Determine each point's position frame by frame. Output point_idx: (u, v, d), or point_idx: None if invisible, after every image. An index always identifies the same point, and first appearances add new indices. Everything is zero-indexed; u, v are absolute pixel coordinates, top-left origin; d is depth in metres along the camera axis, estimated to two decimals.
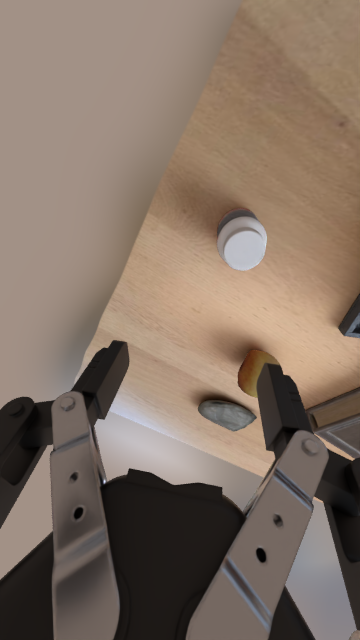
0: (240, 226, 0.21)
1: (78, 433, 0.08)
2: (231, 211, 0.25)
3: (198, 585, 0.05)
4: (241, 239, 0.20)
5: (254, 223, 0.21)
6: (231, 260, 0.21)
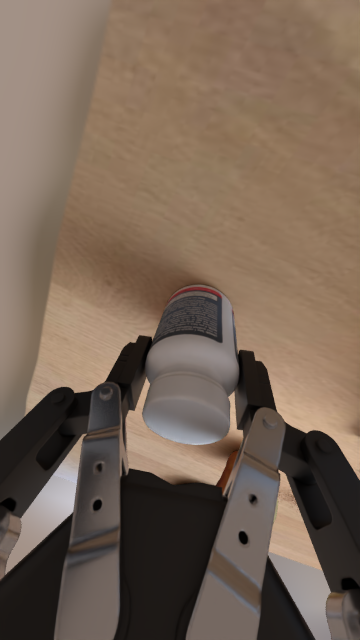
0: (180, 359, 0.10)
1: (110, 424, 0.08)
2: (182, 293, 0.14)
3: (190, 590, 0.05)
4: (174, 408, 0.09)
5: (209, 355, 0.10)
6: (161, 430, 0.10)
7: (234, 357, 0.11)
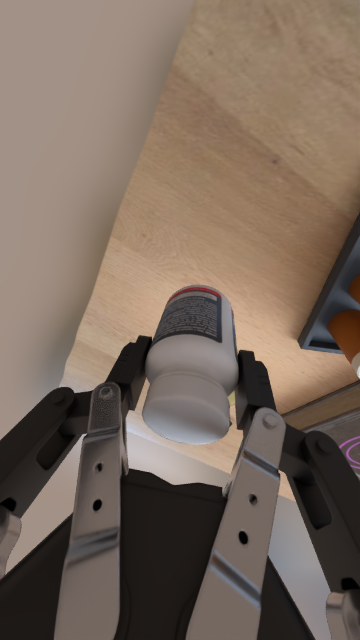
0: (180, 359, 0.10)
1: (110, 424, 0.08)
2: (181, 293, 0.14)
3: (190, 590, 0.05)
4: (174, 407, 0.09)
5: (209, 355, 0.10)
6: (161, 430, 0.10)
7: (234, 357, 0.11)
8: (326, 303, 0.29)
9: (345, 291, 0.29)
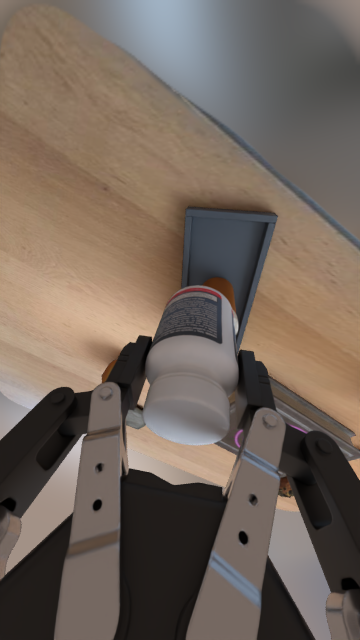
0: (180, 360, 0.10)
1: (110, 424, 0.08)
2: (181, 294, 0.14)
3: (190, 590, 0.05)
4: (174, 408, 0.09)
5: (209, 356, 0.10)
6: (161, 431, 0.10)
7: (234, 358, 0.11)
8: None
9: None
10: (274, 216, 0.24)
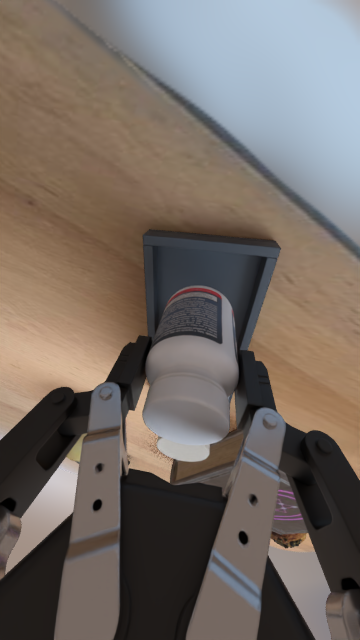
0: (180, 360, 0.10)
1: (110, 424, 0.08)
2: (182, 294, 0.14)
3: (190, 590, 0.05)
4: (174, 409, 0.09)
5: (209, 356, 0.10)
6: (161, 431, 0.10)
7: (234, 358, 0.11)
8: None
9: None
10: (275, 248, 0.16)
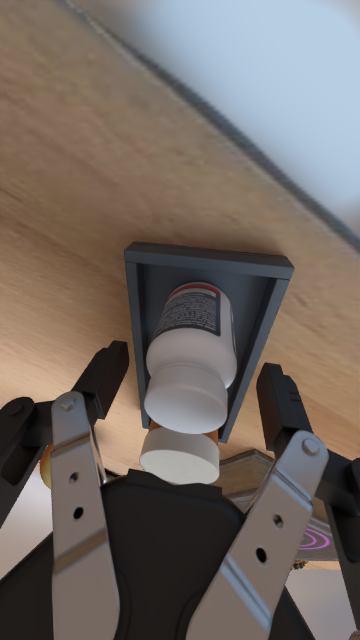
0: (180, 352, 0.10)
1: (78, 433, 0.08)
2: (181, 290, 0.15)
3: (198, 585, 0.05)
4: (174, 397, 0.09)
5: (208, 347, 0.10)
6: (162, 420, 0.11)
7: (232, 350, 0.11)
8: (140, 386, 0.22)
9: None
10: (288, 268, 0.13)
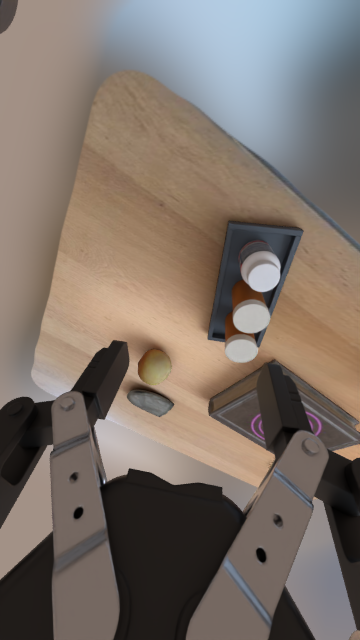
0: (260, 258, 0.28)
1: (78, 433, 0.08)
2: (251, 243, 0.32)
3: (198, 585, 0.05)
4: (262, 269, 0.27)
5: (271, 256, 0.28)
6: (253, 284, 0.28)
7: None
8: (215, 304, 0.39)
9: (230, 296, 0.39)
10: (300, 231, 0.30)
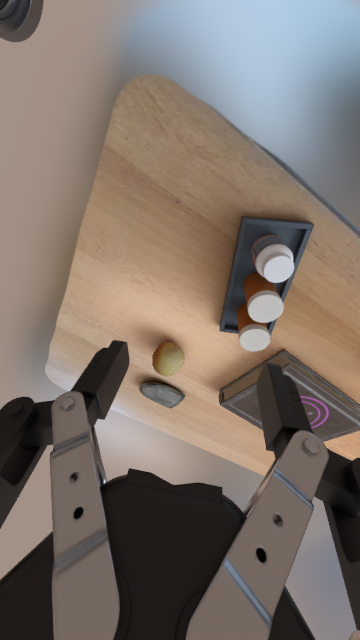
0: (275, 251, 0.30)
1: (78, 433, 0.08)
2: (264, 237, 0.34)
3: (198, 585, 0.05)
4: (277, 261, 0.28)
5: (285, 249, 0.29)
6: (268, 275, 0.30)
7: None
8: (228, 296, 0.41)
9: (242, 288, 0.41)
10: (311, 224, 0.32)
